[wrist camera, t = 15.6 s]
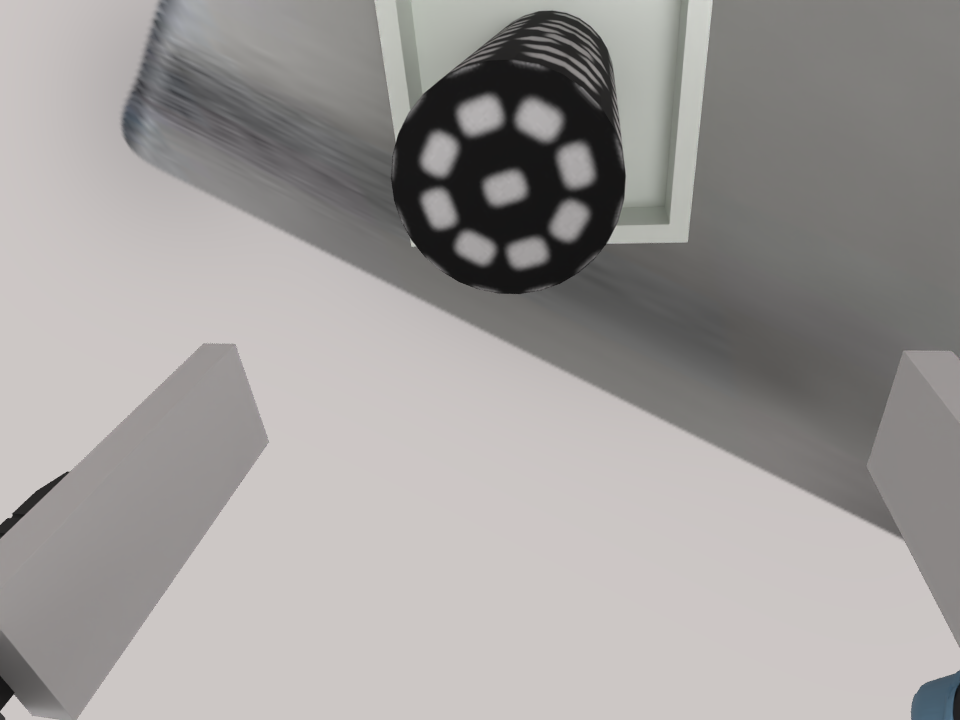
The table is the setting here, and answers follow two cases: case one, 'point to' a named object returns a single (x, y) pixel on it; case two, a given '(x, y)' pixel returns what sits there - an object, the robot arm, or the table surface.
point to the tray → (637, 71)
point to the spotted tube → (515, 158)
